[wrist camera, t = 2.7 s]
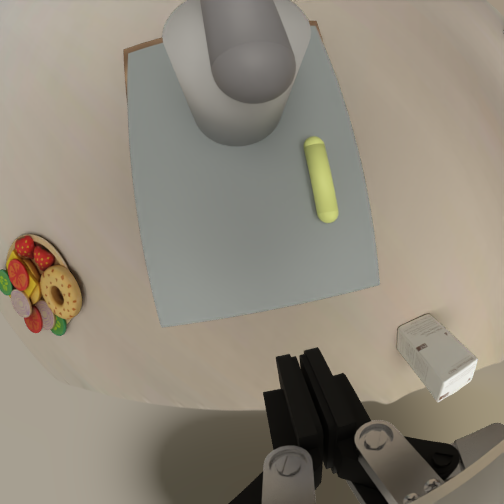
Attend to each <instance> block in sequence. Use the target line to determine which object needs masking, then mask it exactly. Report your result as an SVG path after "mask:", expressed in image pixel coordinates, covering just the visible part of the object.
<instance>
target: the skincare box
mask: <svg viewBox="0 0 504 504" xmlns="http://www.w3.org/2000/svg"><path fill="white" fill-rule="evenodd" d="M397 350H398V351H399V352H400V354H401V355H402V356H403V357H404V359H405V360H406V361H407V362H408V364H409V365H410V366H411V368H412V369H413V370H414V372H415V373H416V374H417V375H418V377H419V378H420V379H421V381H422V382H423V383H424V385H425V386H426V387H427V389H428V390H429V392H430V393H431V394H432V396H433V397H434V399H435V400H436V401H437V402H439V401H441V400H443V399H444V398H446V397H447V396H449V395H451V394H453V393H455V392H456V391H458V390H459V389H460V388H461V387H463V386H464V385H466V384H467V383H469V382H470V381H471V380H472V377H473V374H474V371H475V368H476V365H477V361H478V358H477V357H476V356H475V355H474V354H473V353H471V352H470V351H469V350H468V349H467V348H466V347H465V346H464V345H463V344H462V343H461V342H460V341H459V340H458V339H457V338H456V337H455V336H454V335H453V334H451V333H450V332H449V331H448V330H447V329H446V328H445V327H444V326H443V325H442V324H440V323H439V322H438V321H437V320H436V319H435V318H434V317H433V316H431V315H430V314H426V315H424V316H421V317H419V318H417V319H414V320H412V321H410V322H408V323H406V324H404V325H402V326H400V327H399V328H398V334H397Z"/></svg>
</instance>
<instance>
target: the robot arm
mask: <svg viewBox="0 0 504 504" xmlns="http://www.w3.org/2000/svg"><path fill="white" fill-rule="evenodd" d="M276 362H277V368H278V374H279V381H280V387H281V389H278V390H273V391H267V392H263V395H264V401H265V406H266V412H267V417H268V423H269V428H270V434H271V439H272V444H273V451H272V452H271V453H269V454H268V456H267V457H266V459H265V462H264V469H263V472H262V473H261V474H260V475H259V476H258V477H257V478H256V479H255V480H254V481H253V482H252V483H251V484H250V485H248V487H246V488H245V489H244V490H243V491H242V492H241V493H240V494H239V495H238V496H237V497H235V498H234V499H233V500H232V501H231V502H230V503H229V504H316V500H315V490H316V488H317V487H318V486H319V484H320V483H321V478H322V462H324V465H325V467H326V469H328V468H331V470H332V473H333V474H334V473H337V474H338V477H340V478H343V479H346V480H347V483H348V485H349V486H350V488H351V489H352V491H353V493H354V494H355V496H356V497H357V499H358V501H359V502H360V503H361V504H504V425H503V424H501V423H494V424H491V425H489V426H486V427H485V428H482V429H480V430H478V431H476V432H474V433H472V434H469V435H467V436H464V437H462V438H460V439H457V440H455V441H454V443H451V444H446V443H440V442H433V441H427V440H421V439H416V438H410V437H405V436H403V435H402V434H401V433H400V432H399V431H398V430H397V428H396V427H395V426H393V425H392V424H391V423H389V422H386V421H382V420H375V421H371V420H370V418H369V416H368V414H367V412H366V411H365V409H364V407H363V405H362V403H361V402H360V400H359V398H358V396H357V394H356V393H355V391H354V389H353V387H352V386H351V384H350V382H349V380H348V379H347V377H346V375H345V374H344V373H341V374H338V375H335V376H333V375H332V373H331V371H330V369H329V367H328V365H327V363H326V361H325V359H324V357H323V356H322V354H321V352H320V350H319V348H318V347H317V348H313V349H309V350H305V351H304V354H303V355H300V366H299V363H298V361H297V358H296V356H295V357H291V356H290V354H287V355H282V356H278V357H276ZM300 367H301V369H300Z"/></svg>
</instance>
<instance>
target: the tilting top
mask: <svg viewBox="0 0 504 504" xmlns="http://www.w3.org/2000/svg"><path fill="white" fill-rule="evenodd" d="M162 38H163V43H160V44H157V45H153V46H150V47H146V48H143V49H140V50H137V51H134V52H131V53H128V74H127V99H128V128H129V144H130V157H131V168H132V177H133V186H134V194H135V202H136V209H137V216H138V222H139V228H140V234H141V240H142V245H143V251H144V256H145V261H146V266H147V271H148V275H149V280H150V284H151V289H152V293H153V297H154V301H155V305H156V309H157V313H158V317H159V321H160V324H161V327H169V326H176V325H184V324H191V323H198V322H204V321H211V320H217V319H223V318H229V317H235V316H241V315H246V314H252V313H257V312H263V311H268V310H273V309H278V308H283V307H288V306H293V305H298V304H302V303H307V302H311V301H316V300H320V299H325V298H329V297H333V296H338V295H342V294H346V293H350V292H354V291H358V290H362V289H366V288H370V287H374V286H377V285H380V280H379V269H378V259H377V251H376V243H375V235H374V228H373V222H372V215H371V209H370V204H369V198H368V193H367V188H366V183H365V178H364V173H363V169H362V164H361V160H360V156H359V152H358V148H357V144H356V140H355V136H354V132H353V129H352V125H351V122H350V118H349V115H348V112H347V108H346V105H345V102H344V99H343V96H342V93H341V90H340V87H339V84H338V81H337V78H336V75H335V73H334V70H333V67H332V65H331V62H330V59H329V57H328V54H327V52H326V49H325V47H324V45H323V42H322V40H321V37H320V35H319V33H318V31H317V28H316V26H310V24H309V21H308V19H307V17H306V15H305V14H304V13H303V11H302V10H301V9H300V8H299V7H298V6H297V5H296V4H294V3H293V2H292V1H290V0H187V1H185V2H184V3H182V4H181V5H180V6H178V7H177V8H176V9H175V10H174V11H173V12H172V13H171V15H170V16H169V18H168V19H167V21H166V23H165V25H164V29H163V35H162Z"/></svg>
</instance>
